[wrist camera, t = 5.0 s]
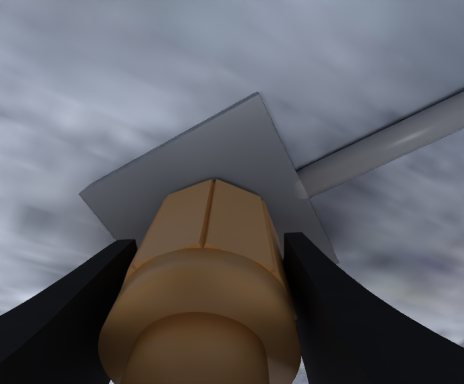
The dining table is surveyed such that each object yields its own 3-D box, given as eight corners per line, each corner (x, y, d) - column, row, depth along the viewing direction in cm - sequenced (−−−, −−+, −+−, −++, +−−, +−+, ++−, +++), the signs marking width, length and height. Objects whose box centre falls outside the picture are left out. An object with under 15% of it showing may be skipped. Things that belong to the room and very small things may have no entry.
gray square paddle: (575, -86, 9) (889, -227, 4) (586, 145, 11) (786, 191, 7) (90, 184, 12) (16, 243, 8) (188, 308, 15) (169, 399, 11)
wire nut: (250, 164, 10) (268, 293, 5) (288, 265, 12) (335, 444, 6) (133, 207, 11) (25, 362, 5) (186, 295, 13) (147, 478, 7)
